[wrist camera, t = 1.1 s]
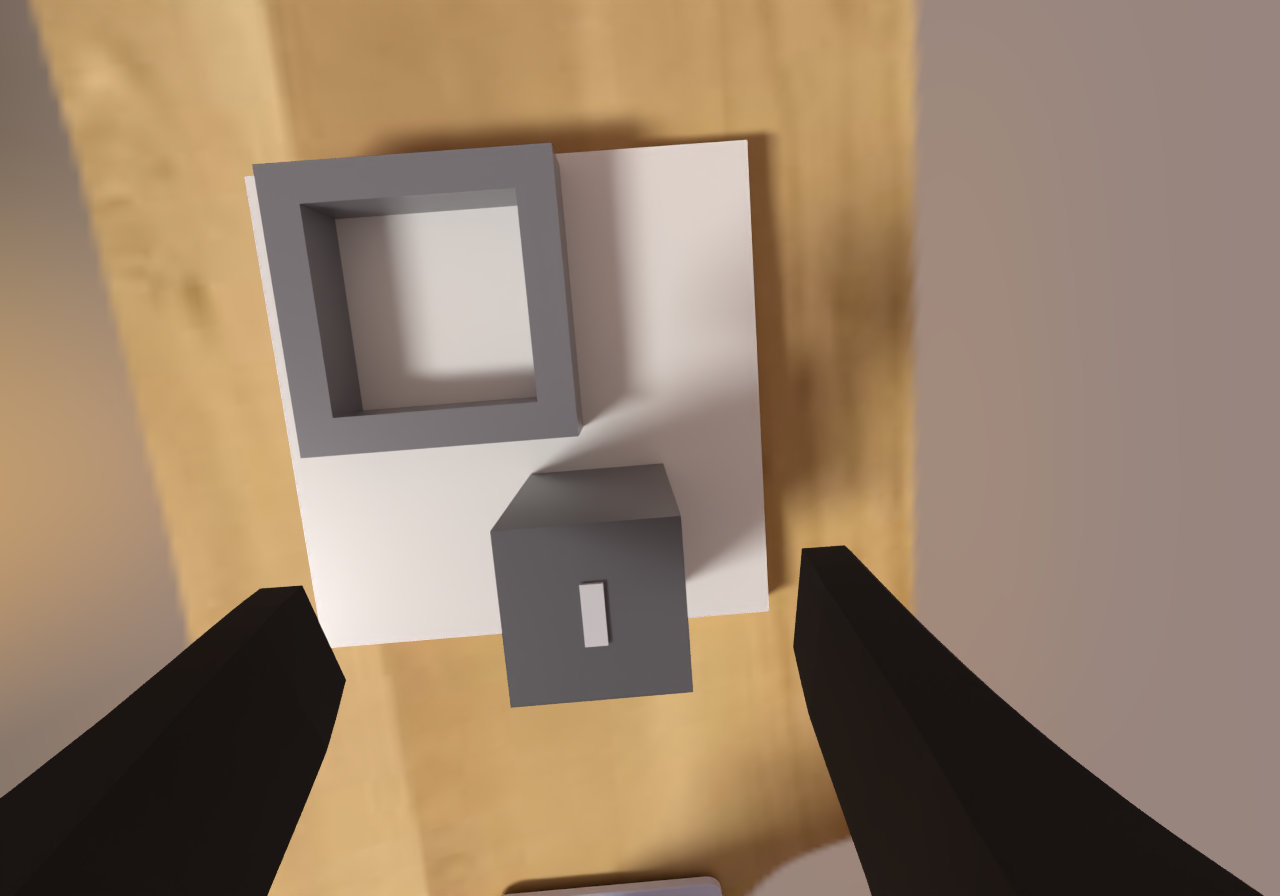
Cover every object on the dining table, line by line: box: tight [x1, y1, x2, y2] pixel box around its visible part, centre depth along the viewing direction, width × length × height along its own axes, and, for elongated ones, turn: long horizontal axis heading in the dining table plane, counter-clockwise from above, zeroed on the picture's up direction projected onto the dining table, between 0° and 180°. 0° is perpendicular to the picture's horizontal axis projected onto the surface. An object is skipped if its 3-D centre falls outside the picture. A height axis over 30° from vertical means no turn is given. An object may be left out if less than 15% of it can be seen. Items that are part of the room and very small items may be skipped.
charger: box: [490, 463, 693, 708], centre depth 17 cm, size 4×4×6 cm
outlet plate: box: [245, 140, 769, 648], centre depth 18 cm, size 14×14×3 cm
